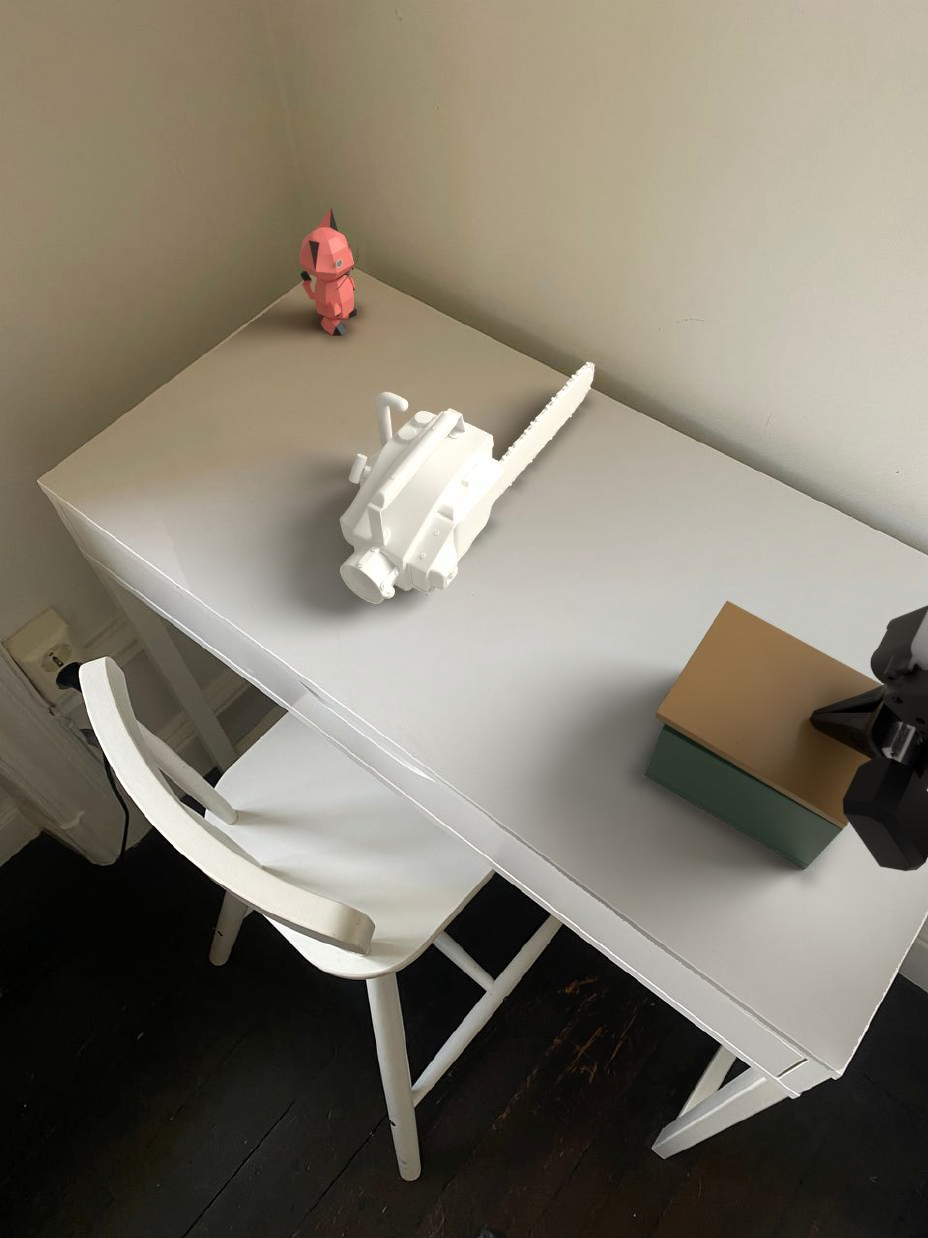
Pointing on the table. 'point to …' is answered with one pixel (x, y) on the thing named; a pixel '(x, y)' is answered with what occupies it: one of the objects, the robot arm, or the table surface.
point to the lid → (768, 708)
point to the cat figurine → (329, 274)
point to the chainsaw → (434, 492)
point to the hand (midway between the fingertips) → (813, 719)
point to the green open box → (739, 798)
